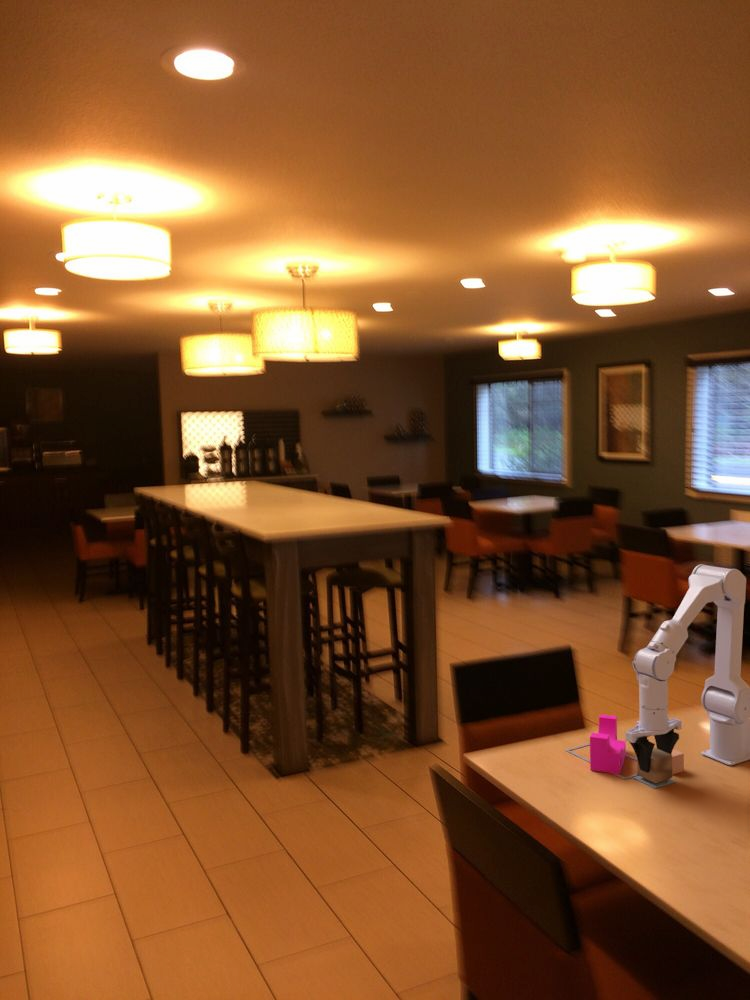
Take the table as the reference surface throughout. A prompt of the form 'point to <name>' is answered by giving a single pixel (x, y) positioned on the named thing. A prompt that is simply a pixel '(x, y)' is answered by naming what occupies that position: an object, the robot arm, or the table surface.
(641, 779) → the frame
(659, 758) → the walnut cube
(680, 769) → the terracotta block
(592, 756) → the toy block
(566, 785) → the table surface
